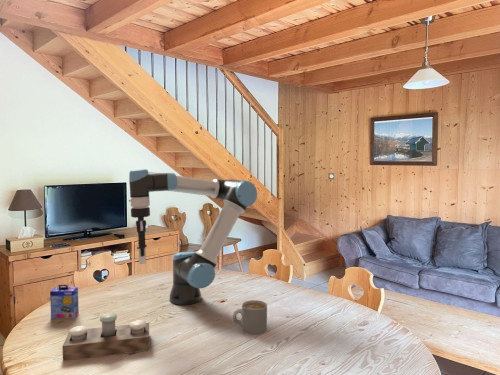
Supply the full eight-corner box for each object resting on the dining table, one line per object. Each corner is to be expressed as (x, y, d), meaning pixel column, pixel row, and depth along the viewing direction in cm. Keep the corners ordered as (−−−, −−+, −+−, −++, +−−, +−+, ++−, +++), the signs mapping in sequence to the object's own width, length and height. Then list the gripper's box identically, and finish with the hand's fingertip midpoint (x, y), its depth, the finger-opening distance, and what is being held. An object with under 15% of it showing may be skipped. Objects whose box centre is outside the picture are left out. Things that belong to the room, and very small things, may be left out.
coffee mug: (267, 324, 156) (268, 300, 155) (265, 335, 146) (265, 310, 145) (235, 322, 158) (235, 299, 157) (231, 333, 148) (231, 308, 147)
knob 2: (146, 337, 142) (145, 319, 142) (145, 344, 137) (145, 325, 136) (130, 339, 141) (130, 320, 140) (129, 346, 135) (129, 327, 135)
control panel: (149, 335, 145) (149, 322, 145) (149, 350, 134) (149, 336, 134) (70, 343, 138) (69, 330, 138) (62, 360, 127) (62, 346, 126)
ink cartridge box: (50, 319, 159) (49, 285, 158) (55, 314, 165) (54, 281, 164) (74, 318, 160) (73, 285, 159) (79, 313, 166) (78, 281, 165)
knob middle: (117, 330, 139) (117, 312, 139) (116, 337, 134) (116, 318, 133) (101, 332, 138) (101, 313, 137) (99, 339, 132) (99, 319, 132)
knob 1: (88, 343, 137) (88, 325, 136) (86, 351, 131) (85, 331, 131) (71, 345, 135) (71, 326, 135) (68, 353, 130) (68, 333, 130)
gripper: (130, 205, 160) (132, 260, 162) (130, 209, 148) (133, 268, 150) (148, 204, 163) (151, 258, 165) (150, 208, 150) (153, 266, 152)
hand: (142, 263), depth 157 cm, fingers closed
